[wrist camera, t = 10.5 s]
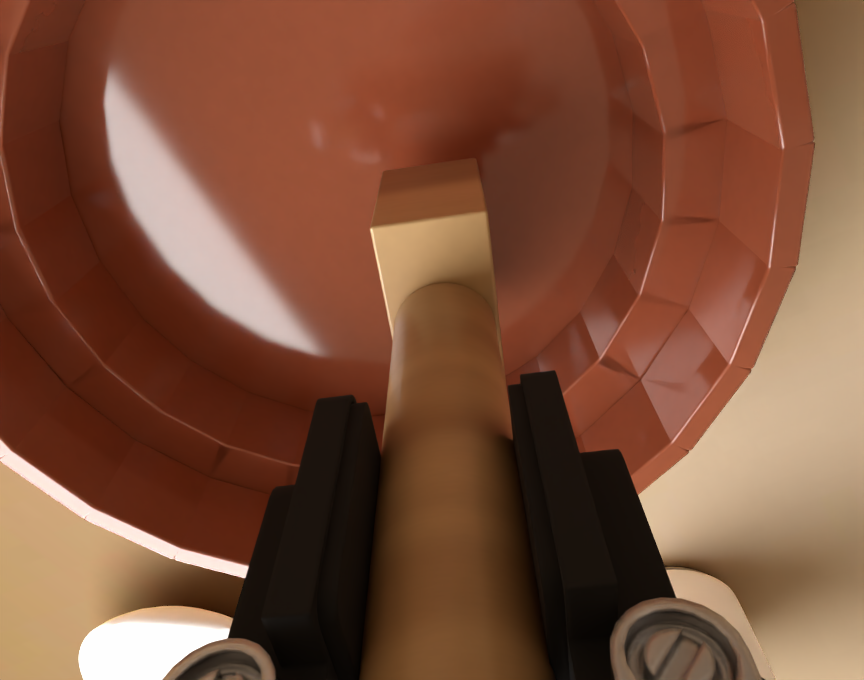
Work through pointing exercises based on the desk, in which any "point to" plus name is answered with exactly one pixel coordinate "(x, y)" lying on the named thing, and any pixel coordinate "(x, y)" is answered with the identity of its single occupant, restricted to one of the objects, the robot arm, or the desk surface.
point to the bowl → (351, 219)
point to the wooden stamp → (446, 450)
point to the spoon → (148, 642)
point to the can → (719, 607)
